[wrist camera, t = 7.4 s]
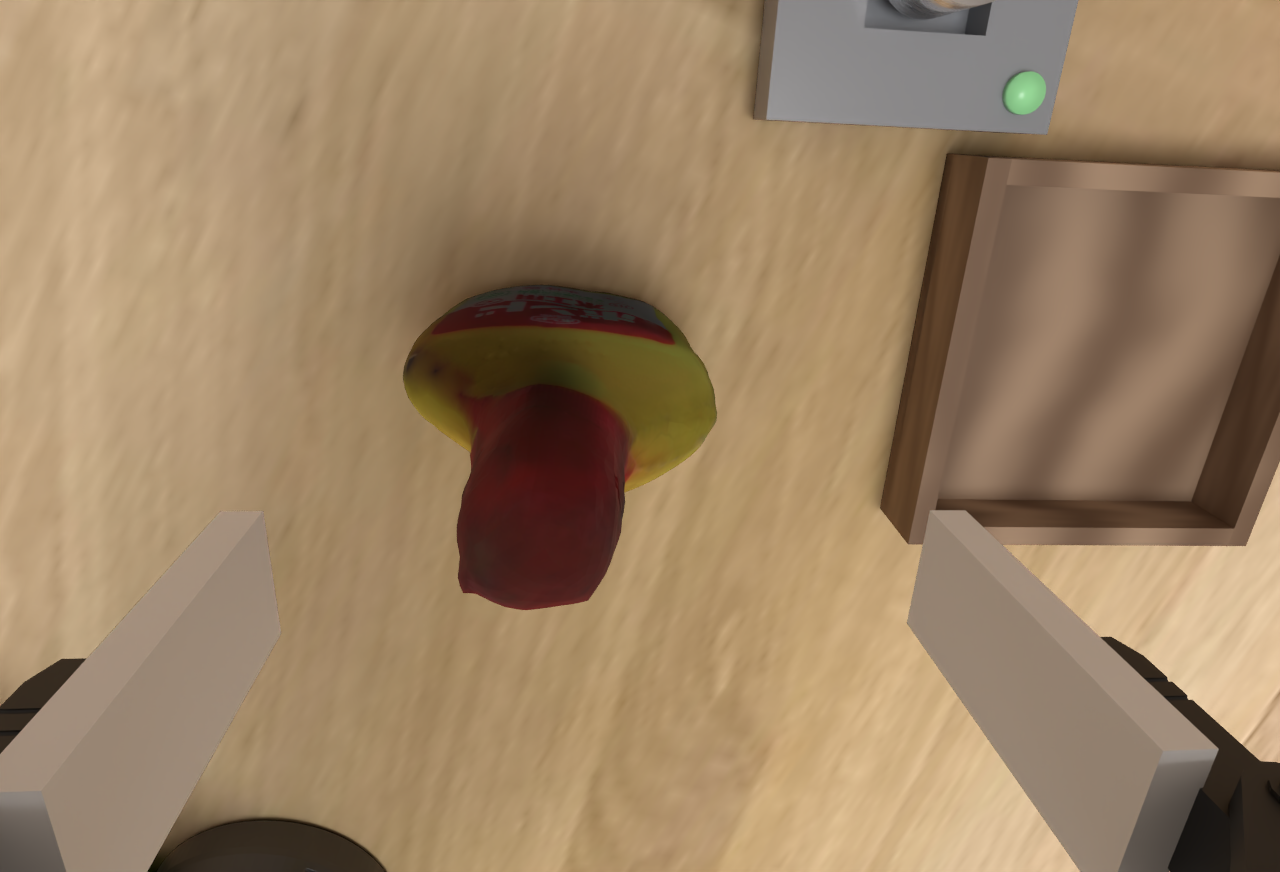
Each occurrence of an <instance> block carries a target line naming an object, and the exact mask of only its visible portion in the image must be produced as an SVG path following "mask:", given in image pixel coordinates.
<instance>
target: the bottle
mask: <svg viewBox="0 0 1280 872" xmlns="http://www.w3.org/2000/svg"><path fill="white" fill-rule="evenodd" d="M403 380H404V385H405V389H406V392H407V395H408V398H409V399H410V401H411V402H412V404H413V405H414V407H415V408H416V409H417V411H418V412H419V413H420V414H421V415H422V416H423V417H424V418H425V419H426V420H427V421H428V422H430V423H431V424H433V425H434V426H435V427H436V428H437V429H438V430H440V431H441V432H442V433H444V434H445V435H446V436H448V437H449V438H451V439H452V440H453V441H455V442H456V443H458V444H459V445H460V446H462V447H463V448H465V449H466V450H468V451H469V452H471V453H470V458H471V474H470V477H469V479H468V482H467V484H466V486H465V488H464V491H463V494H462V502H461V509H460V512H459V517H458V523H457V543H458V548H459V554H460V561H459V572H458V579H459V584H460V587H461V589H462V591H463V593H474V594H478V595H480V596H482V597H484V598H486V599H488V600H490V601H492V602H494V603H496V604H499V605H502V606H504V607H509V608H514V609H521V610H531V609H540V608H547V607H554V606H561V605H568V604H574V603H580V602H584V601H587V600H589V598H590V597H591V596H592V594H593V593H594V591H595V590H596V588H597V587H598V585H599V584H600V582H601V580H602V579H603V577H604V576H605V574H606V572H607V569H608V567H609V565H610V562H611V559H612V556H613V553H614V551H615V548H616V545H617V542H618V540H619V536H620V533H621V525H622V517H623V513H624V505H625V496H624V492H627V491H629V490H632V489H635V488H637V487H639V486H642V485H644V484H646V483H648V482H650V481H652V480H654V479H656V478H657V477H659V476H661V475H663V474H664V473H666V472H668V471H669V470H671V469H673V468H674V467H676V466H677V465H679V464H680V463H682V462H683V461H684V460H686V459H687V458H688V457H690V456H691V455H692V454H693V453H694V452H695V451H696V450H697V449H698V448H699V447H700V446H701V444H702V443H703V441H704V440H705V438H706V437H707V435H708V433H709V432H710V431H711V429H712V428H713V426H714V424H715V422H716V418H717V411H716V405H715V395H714V389H713V386H712V384H711V381H710V379H709V376H708V372H707V370H706V368H705V366H704V364H703V362H702V361H701V359H700V358H699V357H698V356H697V355H696V354H695V353H694V352H693V350H692V348H691V347H690V345H689V343H688V341H687V339H686V337H685V336H684V334H683V333H682V332H681V331H680V329H679V328H678V327H677V326H676V325H675V324H674V323H673V322H672V321H671V320H670V319H668V318H667V317H666V316H665V315H664V314H663V313H661V312H660V311H659V310H657V309H656V308H654V307H653V306H651V305H649V304H647V303H645V302H642V301H639V300H635V299H631V298H628V297H623V296H619V295H614V294H610V293H604V292H591V291H585V290H579V289H574V288H567V287H560V286H552V285H528V286H516V287H510V288H504V289H499V290H494V291H490V292H487V293H484V294H480V295H477V296H474V297H471V298H468V299H466V300H464V301H463V302H461V303H459V304H458V305H456V306H455V307H453V308H452V309H450V310H449V311H448V312H446V313H445V314H444V315H443V316H442V317H440V318H439V319H437V320H436V321H435V322H434V323H432V324H431V325H430V326H429V327H428V328H427V329H426V330H425V331H424V332H423V333H422V334H421V335H420V336H419V337H418V339H417V340H416V342H415V343H414V345H413V347H412V349H411V351H410V353H409V355H408V357H407V360H406V363H405V366H404V372H403Z"/></svg>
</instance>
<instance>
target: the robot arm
mask: <svg viewBox="0 0 1280 872" xmlns="http://www.w3.org/2000/svg"><path fill="white" fill-rule="evenodd" d="M907 624H908V625H909V627H910V628H911V630H912V631H913V633H914V634H915V636H916V637H917V638H918V640H919V641H920V643H921V644H922V646H923V647H924V648H925V650H926V651H927V653H928V654H929V656H930V657H931V658H932V660H933V661H934V663H935V664H936V666H937V667H938V668H939V670H940V671H941V673H942V674H943V676H944V677H945V678H946V680H947V681H948V683H949V684H950V686H951V687H952V688H953V690H954V691H955V693H956V694H957V696H958V697H959V698H960V700H961V701H962V703H963V704H964V706H965V707H966V708H967V710H968V711H969V713H970V714H971V716H972V717H973V719H974V720H975V721H976V723H977V724H978V726H979V727H980V729H981V730H982V731H983V733H984V734H985V736H986V737H987V739H988V740H989V741H990V743H991V744H992V746H993V747H994V749H995V750H996V751H997V753H998V754H999V756H1000V757H1001V759H1002V760H1003V761H1004V763H1005V764H1006V766H1007V767H1008V769H1009V770H1010V771H1011V773H1012V774H1013V776H1014V777H1015V779H1016V780H1017V781H1018V783H1019V784H1020V786H1021V787H1022V789H1023V790H1024V791H1025V793H1026V794H1027V796H1028V797H1029V799H1030V800H1031V801H1032V803H1033V804H1034V806H1035V807H1036V809H1037V810H1038V812H1039V813H1040V814H1041V816H1042V817H1043V819H1044V820H1045V822H1046V823H1047V824H1048V826H1049V827H1050V829H1051V830H1052V832H1053V833H1054V834H1055V836H1056V837H1057V839H1058V840H1059V842H1060V843H1061V844H1062V846H1063V847H1064V849H1065V850H1066V852H1067V853H1068V854H1069V856H1070V857H1071V859H1072V860H1073V862H1074V863H1075V864H1076V866H1077V867H1078V869H1079V870H1080V872H1169V871H1170V872H1280V763H1277V762H1261V761H1259V760H1258V759H1257V758H1256V757H1255V756H1254V755H1253V754H1252V753H1250V752H1249V751H1248V750H1247V749H1246V748H1245V747H1244V746H1243V745H1242V744H1241V743H1239V742H1238V741H1237V740H1236V739H1235V738H1234V737H1233V736H1232V735H1231V734H1229V733H1228V732H1227V731H1226V730H1225V729H1224V728H1223V727H1222V726H1221V725H1219V724H1218V723H1217V722H1216V721H1215V720H1214V719H1213V718H1212V717H1211V716H1210V715H1208V714H1207V713H1206V712H1205V711H1204V710H1203V709H1202V708H1201V707H1200V706H1198V705H1197V704H1196V703H1195V702H1194V701H1193V700H1188V699H1187V695H1186V694H1185V693H1184V692H1183V691H1182V690H1181V689H1180V688H1179V687H1177V686H1176V685H1175V684H1174V683H1173V682H1168V680H1167V677H1166V676H1165V675H1164V674H1163V673H1162V672H1161V671H1160V670H1159V669H1157V668H1156V667H1155V666H1154V665H1153V664H1152V663H1151V662H1150V661H1149V660H1148V659H1146V658H1145V657H1144V656H1143V655H1141V654H1140V653H1138V652H1136V651H1134V650H1133V649H1131V648H1129V647H1128V646H1126V645H1124V644H1122V643H1121V642H1119V641H1117V640H1116V639H1114V638H1112V637H1099V636H1098V635H1097V634H1096V633H1095V632H1094V631H1093V630H1092V629H1091V628H1090V627H1089V626H1088V625H1087V624H1086V623H1085V622H1083V621H1082V620H1081V619H1080V618H1079V617H1078V616H1077V615H1076V614H1075V613H1074V612H1073V611H1072V610H1071V609H1070V608H1069V607H1068V606H1066V605H1065V604H1064V603H1063V602H1062V601H1061V600H1060V599H1059V598H1058V597H1057V596H1056V595H1055V594H1054V593H1053V592H1052V591H1051V590H1049V589H1048V588H1047V587H1046V586H1045V585H1044V584H1043V583H1042V582H1041V581H1040V580H1039V579H1038V578H1037V577H1036V576H1035V575H1034V574H1032V573H1031V572H1030V571H1029V570H1028V569H1027V568H1026V567H1025V566H1024V565H1023V564H1022V563H1021V562H1020V561H1019V560H1018V559H1017V558H1015V557H1014V556H1013V555H1012V554H1011V553H1010V552H1009V551H1008V550H1007V549H1006V548H1005V547H1004V546H1003V545H1002V544H1001V543H1000V542H999V541H997V540H996V539H995V538H994V537H993V536H992V535H991V534H990V533H989V532H988V531H987V530H986V529H985V528H984V527H983V526H982V525H980V524H979V523H978V522H977V521H976V520H975V519H974V518H973V517H972V516H971V515H970V514H969V513H968V512H967V511H966V510H930V513H929V517H928V522H927V527H926V532H925V537H924V542H923V547H922V552H921V557H920V561H919V566H918V571H917V576H916V581H915V586H914V591H913V596H912V601H911V606H910V610H909V615H908V620H907ZM280 635H281V628H280V621H279V614H278V607H277V601H276V594H275V587H274V580H273V573H272V567H271V560H270V553H269V546H268V540H267V533H266V526H265V519H264V513H263V511H220V512H219V513H218V514H217V515H216V516H215V518H214V519H213V520H212V521H211V522H210V523H209V524H208V525H207V526H206V528H205V529H204V530H203V531H202V532H201V533H200V534H199V535H198V536H197V537H196V539H195V540H194V541H193V542H192V543H191V544H190V545H189V546H188V547H187V548H186V550H185V551H184V552H183V553H182V554H181V555H180V556H179V557H178V558H177V560H176V561H175V562H174V563H173V564H172V565H171V566H170V567H169V568H168V569H167V571H166V572H165V573H164V574H163V575H162V576H161V577H160V578H159V579H158V581H157V582H156V583H155V584H154V585H153V586H152V587H151V588H150V589H149V590H148V592H147V593H146V594H145V595H144V596H143V597H142V598H141V599H140V600H139V601H138V603H137V604H136V605H135V606H134V607H133V608H132V609H131V610H130V611H129V613H128V614H127V615H126V616H125V617H124V618H123V619H122V620H121V621H120V622H119V624H118V625H117V626H116V627H115V628H114V629H113V630H112V631H111V632H110V633H109V635H108V636H107V637H106V638H105V639H104V640H103V641H102V642H101V643H100V645H99V646H98V647H97V648H96V649H95V650H94V651H93V652H92V653H91V654H90V656H89V657H88V658H87V659H61V660H59V661H58V662H56V663H54V664H53V665H51V666H50V667H48V668H46V669H45V670H43V671H41V672H40V673H38V674H37V675H35V676H33V677H32V678H30V679H29V680H27V681H25V682H24V683H23V684H22V685H21V686H20V687H19V688H18V689H17V690H16V691H15V692H14V693H13V694H12V695H11V696H10V697H9V698H8V699H7V700H6V701H5V702H4V703H3V704H2V705H1V706H0V872H147V871H148V869H149V868H150V866H151V864H152V862H153V861H154V859H155V857H156V855H157V854H158V852H159V850H160V848H161V846H162V845H163V843H164V841H165V839H166V838H167V836H168V834H169V832H170V830H171V829H172V827H173V825H174V823H175V822H176V820H177V818H178V816H179V814H180V813H181V811H182V809H183V807H184V806H185V804H186V802H187V800H188V798H189V797H190V795H191V793H192V791H193V790H194V788H195V786H196V784H197V782H198V781H199V779H200V777H201V775H202V774H203V772H204V770H205V768H206V767H207V765H208V763H209V761H210V759H211V758H212V756H213V754H214V752H215V751H216V749H217V747H218V745H219V743H220V742H221V740H222V738H223V736H224V735H225V733H226V731H227V729H228V727H229V726H230V724H231V722H232V720H233V719H234V717H235V715H236V713H237V711H238V710H239V708H240V706H241V704H242V703H243V701H244V699H245V697H246V695H247V694H248V692H249V690H250V688H251V687H252V685H253V683H254V681H255V680H256V678H257V676H258V674H259V672H260V671H261V669H262V667H263V665H264V664H265V662H266V660H267V658H268V656H269V655H270V653H271V651H272V649H273V648H274V646H275V644H276V642H277V640H278V639H279V637H280ZM157 872H385V871H384V870H383V869H382V867H381V866H380V865H379V864H378V863H377V862H376V861H375V860H374V859H373V858H372V857H371V856H370V855H369V854H367V853H366V852H365V851H364V850H362V849H361V848H359V847H358V846H356V845H355V844H353V843H351V842H350V841H348V840H346V839H344V838H342V837H340V836H338V835H335V834H333V833H330V832H328V831H325V830H322V829H319V828H315V827H312V826H308V825H303V824H298V823H292V822H284V821H247V822H239V823H233V824H228V825H224V826H220V827H216V828H213V829H210V830H207V831H205V832H203V833H200V834H198V835H196V836H194V837H192V838H190V839H189V840H187V841H185V842H184V843H182V844H181V845H179V846H178V847H177V848H176V849H174V850H173V851H172V852H171V853H170V854H169V855H168V856H167V857H166V858H165V860H164V861H163V862H162V864H161V865H160V867H159V868H158V870H157Z"/></svg>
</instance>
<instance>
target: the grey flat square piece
mask: <svg viewBox="0 0 1280 872" xmlns="http://www.w3.org/2000/svg"><path fill="white" fill-rule="evenodd" d="M1077 4H1078V0H996V1H994V2H990V3H987V4H984V5H980V6H976V7H973V8H969V9H966V10H962V11H958V12H955V13H951V14H948V15H944V16H940V17H937V18H933V19H927V20H920V19H914V18H911V17H908V16H906V15H904V14H902V13H901V12H899V11H898V10H897V9H896V8H895V7H894V6H893V5H892V4H891V3H890V1H889V0H765V4H764V15H763V25H762V35H761V45H760V56H759V66H758V76H757V87H756V97H755V107H754V118H753V119H756V120H775V121H794V122H812V123H831V124H850V125H868V126H887V127H905V128H924V129H943V130H961V131H980V132H999V133H1018V134H1045V135H1047V133H1048V128H1049V124H1050V120H1051V116H1052V111H1053V107H1054V103H1055V98H1056V94H1057V90H1058V85H1059V81H1060V77H1061V73H1062V68H1063V64H1064V60H1065V55H1066V51H1067V47H1068V42H1069V38H1070V34H1071V30H1072V25H1073V21H1074V17H1075V12H1076V8H1077Z"/></svg>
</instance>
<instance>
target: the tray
mask: <svg viewBox="0 0 1280 872" xmlns="http://www.w3.org/2000/svg"><path fill="white" fill-rule="evenodd" d="M1279 461H1280V171H1276V170H1256V169H1236V168H1217V167H1197V166H1177V165H1158V164H1138V163H1118V162H1098V161H1079V160H1059V159H1039V158H1020V157H1000V156H980V155H961V154H947V157H946V163H945V168H944V173H943V179H942V184H941V189H940V195H939V200H938V205H937V210H936V216H935V221H934V226H933V232H932V237H931V242H930V248H929V253H928V258H927V263H926V269H925V274H924V279H923V285H922V290H921V295H920V301H919V306H918V311H917V317H916V322H915V327H914V332H913V338H912V343H911V348H910V354H909V359H908V364H907V370H906V375H905V380H904V385H903V391H902V396H901V401H900V407H899V412H898V417H897V423H896V428H895V433H894V439H893V444H892V449H891V454H890V460H889V465H888V470H887V476H886V481H885V486H884V492H883V497H882V502H881V507H880V508H881V510H882V511H883V512H884V514H885V515H886V516H887V518H888V519H889V520H890V521H891V523H892V524H893V525H894V527H895V528H896V529H897V530H898V532H899V533H900V534H901V536H902V537H903V538H904V540H905V541H906V542H907V543H908V544H923V542H924V537H925V532H926V527H927V522H928V517H929V513H930V510H966V511H967V512H968V513H969V514H970V515H971V516H972V517H973V518H974V519H975V520H976V521H977V522H978V523H979V524H980V525H982V526H983V527H984V528H985V529H986V530H987V531H988V532H989V533H990V534H991V535H992V536H993V537H994V538H995V539H996V540H997V541H999V542H1000V543H1001V544H1002V545H1169V546H1246V544H1247V541H1248V539H1249V536H1250V534H1251V531H1252V529H1253V526H1254V524H1255V521H1256V519H1257V516H1258V514H1259V511H1260V509H1261V506H1262V504H1263V501H1264V499H1265V496H1266V494H1267V491H1268V489H1269V486H1270V484H1271V481H1272V479H1273V476H1274V474H1275V471H1276V469H1277V466H1278V464H1279Z"/></svg>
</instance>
